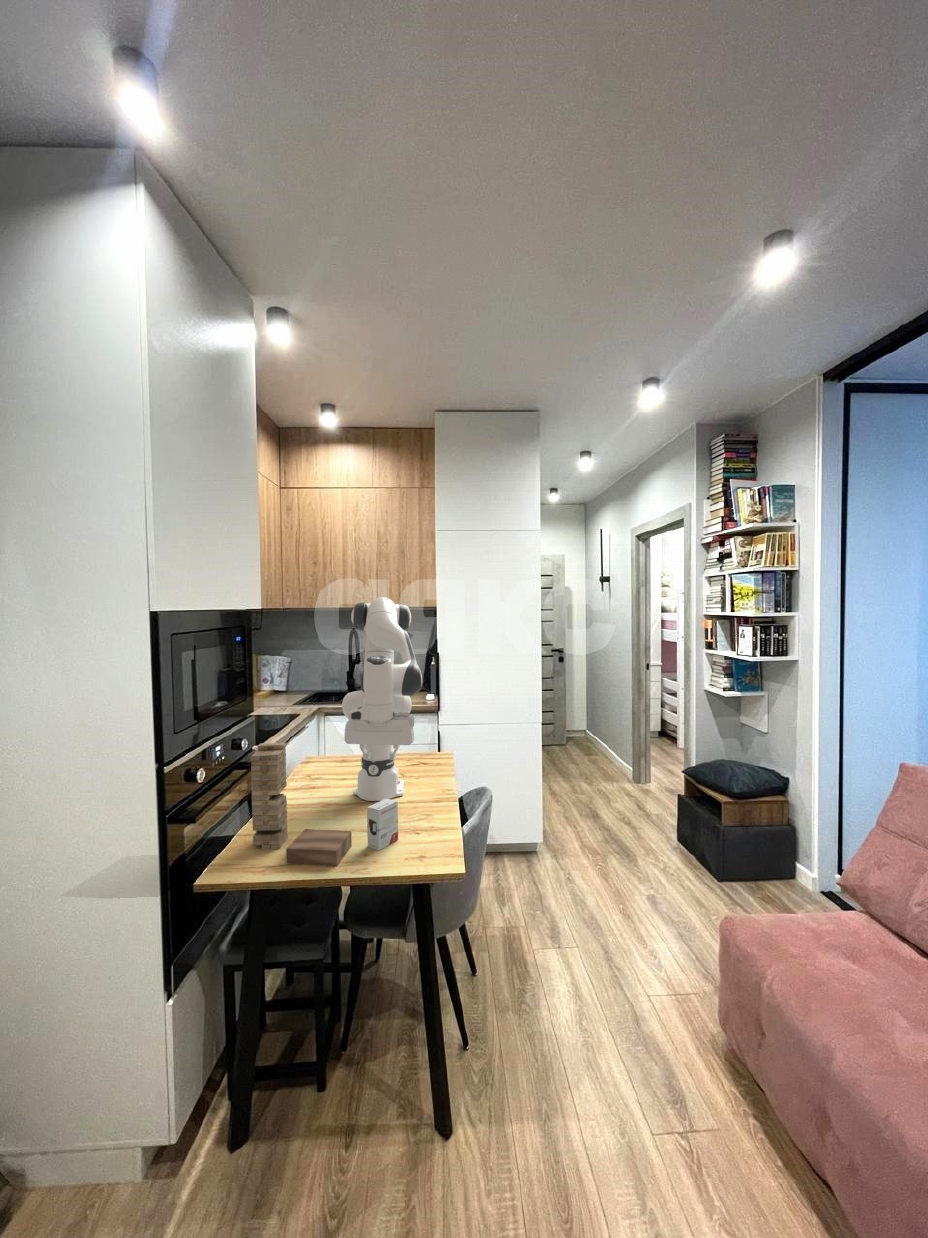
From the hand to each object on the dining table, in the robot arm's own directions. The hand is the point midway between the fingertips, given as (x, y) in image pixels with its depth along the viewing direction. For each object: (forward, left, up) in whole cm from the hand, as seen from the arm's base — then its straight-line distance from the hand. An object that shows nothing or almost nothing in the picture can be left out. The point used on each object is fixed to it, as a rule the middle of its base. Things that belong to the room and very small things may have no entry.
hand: (379, 759), depth 151 cm
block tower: (+4, -32, -25) cm, 41 cm away
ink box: (0, +1, -25) cm, 25 cm away
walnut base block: (+9, -15, -25) cm, 31 cm away
